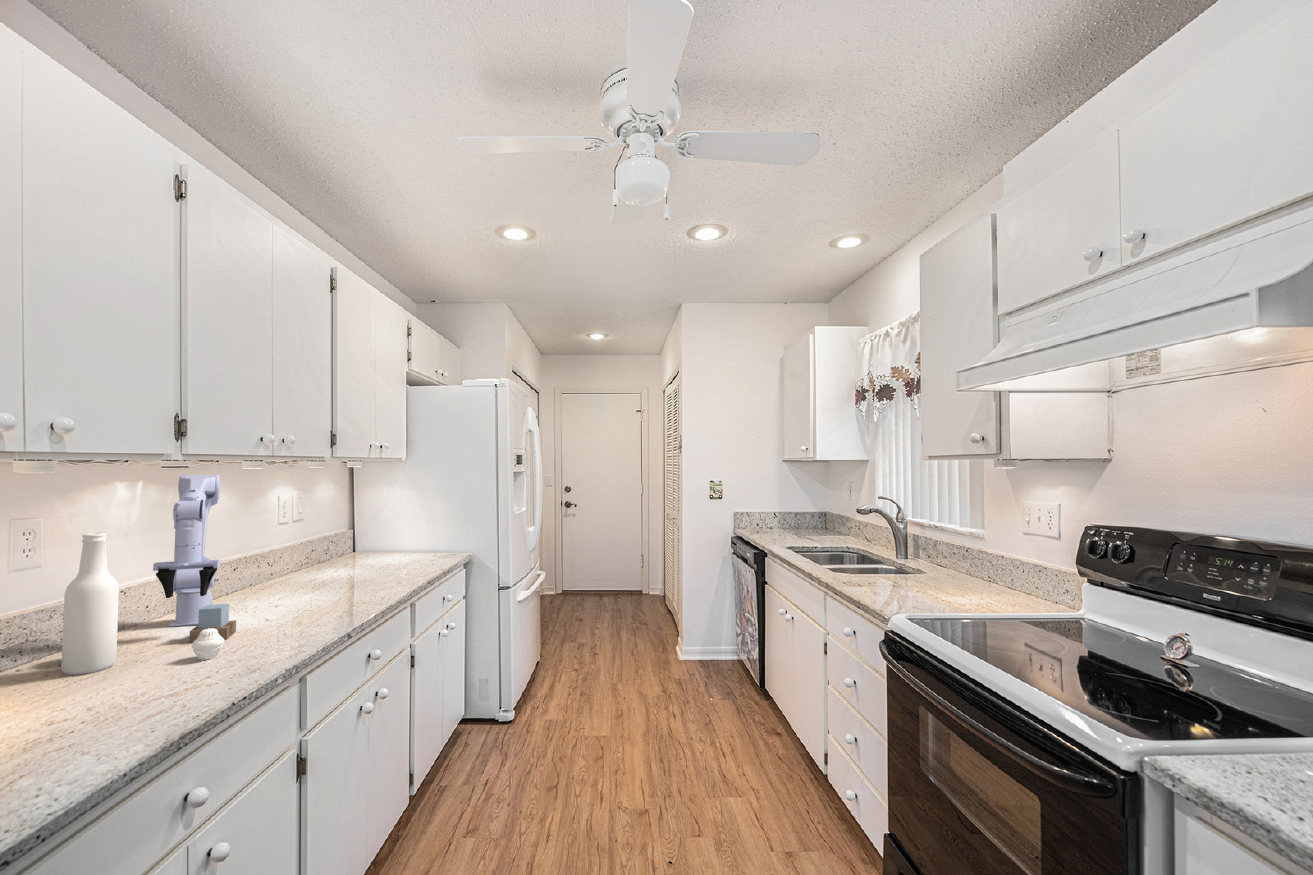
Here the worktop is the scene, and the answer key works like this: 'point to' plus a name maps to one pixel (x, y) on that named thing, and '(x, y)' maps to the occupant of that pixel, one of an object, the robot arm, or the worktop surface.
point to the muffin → (208, 644)
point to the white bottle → (90, 612)
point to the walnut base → (223, 631)
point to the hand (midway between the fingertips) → (186, 596)
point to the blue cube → (213, 616)
